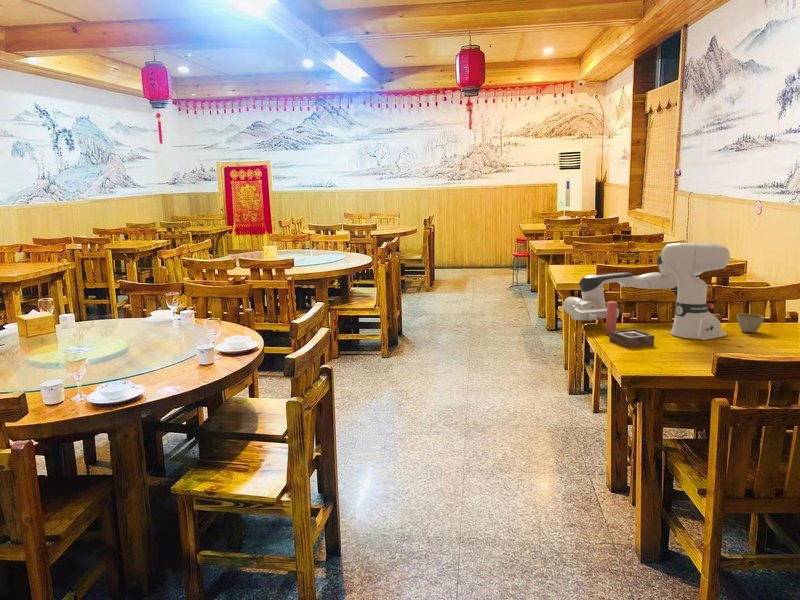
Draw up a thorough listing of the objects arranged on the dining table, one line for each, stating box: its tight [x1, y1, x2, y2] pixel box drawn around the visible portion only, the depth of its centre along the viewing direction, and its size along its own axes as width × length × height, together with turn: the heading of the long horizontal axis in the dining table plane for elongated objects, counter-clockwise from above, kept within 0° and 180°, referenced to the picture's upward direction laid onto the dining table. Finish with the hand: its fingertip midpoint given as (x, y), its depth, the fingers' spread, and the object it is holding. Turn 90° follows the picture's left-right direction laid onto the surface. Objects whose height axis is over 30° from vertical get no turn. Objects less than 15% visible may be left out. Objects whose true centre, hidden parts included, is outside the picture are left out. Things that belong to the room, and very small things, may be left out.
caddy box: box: [609, 328, 655, 349], centre depth 254 cm, size 12×12×4 cm
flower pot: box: [736, 312, 765, 333], centre depth 270 cm, size 10×10×7 cm
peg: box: [605, 301, 618, 336], centre depth 268 cm, size 4×4×14 cm
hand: (607, 317), depth 270 cm, fingers open, 8 cm apart
